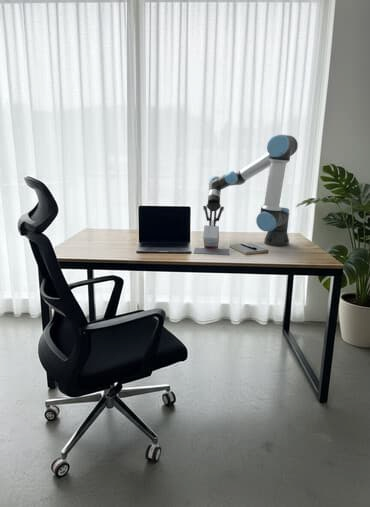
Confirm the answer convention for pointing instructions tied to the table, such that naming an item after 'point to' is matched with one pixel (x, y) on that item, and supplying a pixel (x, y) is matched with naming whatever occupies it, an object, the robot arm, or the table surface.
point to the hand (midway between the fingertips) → (212, 229)
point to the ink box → (211, 236)
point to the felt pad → (211, 251)
